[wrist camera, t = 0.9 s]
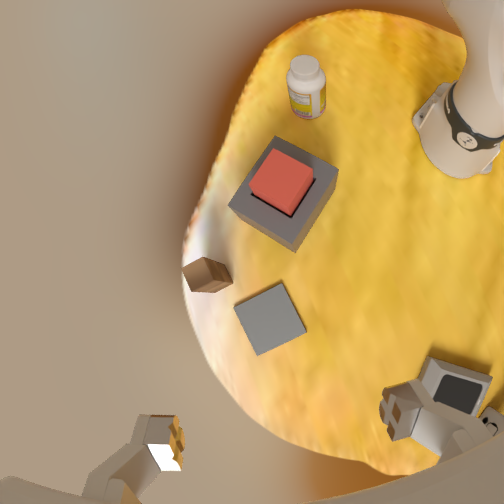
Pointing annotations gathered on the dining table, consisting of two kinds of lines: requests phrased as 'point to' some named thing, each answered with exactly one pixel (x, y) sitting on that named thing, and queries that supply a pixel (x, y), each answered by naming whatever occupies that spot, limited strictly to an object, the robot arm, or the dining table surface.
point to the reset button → (282, 181)
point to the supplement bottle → (306, 87)
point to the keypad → (454, 385)
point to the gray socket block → (307, 211)
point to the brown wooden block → (206, 276)
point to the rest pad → (269, 319)
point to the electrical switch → (493, 421)
